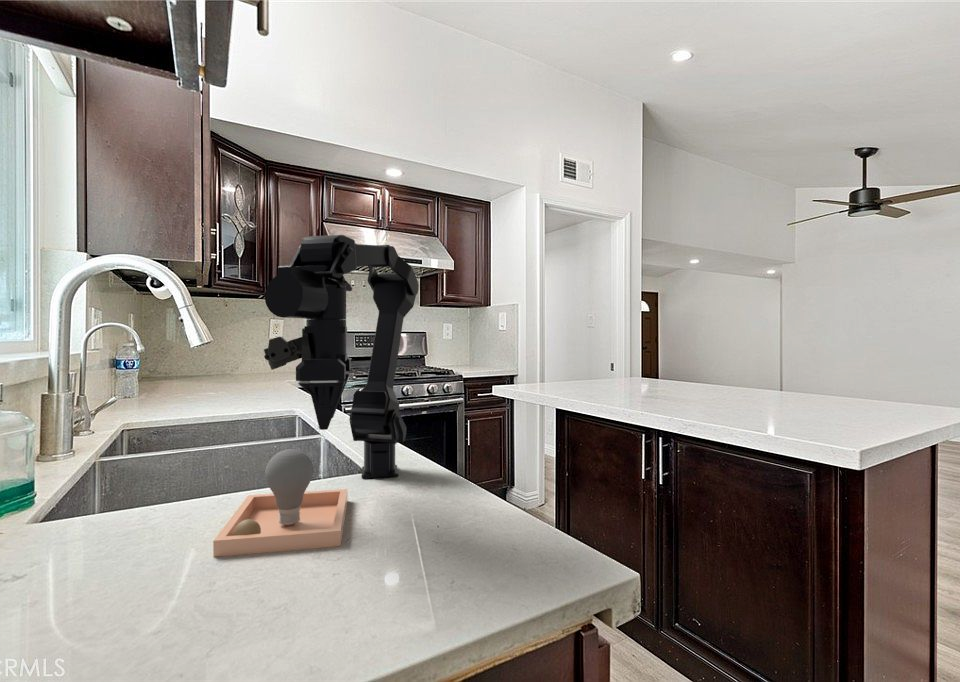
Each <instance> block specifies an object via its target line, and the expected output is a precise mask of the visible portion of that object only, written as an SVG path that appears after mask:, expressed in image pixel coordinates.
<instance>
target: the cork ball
mask: <svg viewBox="0 0 960 682" xmlns="http://www.w3.org/2000/svg"><path fill="white" fill-rule="evenodd" d="M260 533H261V528H260V525H259V524H258V522H256V521H255V520H252V519H247V520H243V521H241V522H240V523H239V524H238V525H237V526H236V527H235V529H234V533H233V536H238V535H251V534H260Z"/></svg>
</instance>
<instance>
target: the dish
mask: <svg viewBox="0 0 960 682" xmlns="http://www.w3.org/2000/svg"><path fill="white" fill-rule="evenodd" d="M348 492H349V491H348V489H347V488H342V489H329V490H328V489H325V490H312V491H311V490H310V491H307V490H306V491H305V492H304V494H303V501H302V503H301V505H300V511H299V512H300V514H299V515H300V521H298V522H297V523H295V524H293V525H290V526H286V525H283V524H280V523H279V516H280V515H279V507H278V506H277V504H276V498H275V496H274V494H273V493H265V494H262V493H261V494H248V495H247V496H246V498H245V499H244V500H243V501H242V503H241V504H240V505H239V506H238V508H237V509H236V510H235V511H234V513H233V515H232V516H231V517H230V518H229V520H228V521H227V523H225V525H224V527H222V528H221V530H220V531H219V533H218V534H217V536H216V537H215V538H214V539H213V542H212V543H213V549H212V551H213V556H212V557H213V558H216V557H227V556H228V557H229V556H236V555H237V556H238V555H252V554H262V553H263V554H264V553H274V552H275V553H276V552H284V551H287V552H288V551H298V550H309V549H319V548H320V549H321V548H332V547H333V548H334V547H341V546H342V545H341V544H342V540H343V532H344V527H345V519H346V514H347V508H348V507H347V506H348V500H349V499H348V494H349V493H348ZM247 519H252V520H255V521H256V522H258V524H259V525H260V528H261V533H260V534H251V535H238V536H233V533H234V529H235V527H236V526H237V525H238V524H239V523H240V522H241V521H243V520H247Z"/></svg>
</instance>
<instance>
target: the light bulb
mask: <svg viewBox="0 0 960 682" xmlns="http://www.w3.org/2000/svg"><path fill="white" fill-rule="evenodd" d="M312 462H313V461H312V460H311V458H310V457H309V456H308V455H307V454H306V453H305V452H304V451H302V450H299V449H294V448H287V449H284V450H281V451H278V452H276V454H274V455H273V456H272V457H271V459H270V460H269V461H268V462H267V464H266V467H265V472H264V478H265V482H266V484H267V486H268V487H269V489H270V491H271V492H272V494H274V496H275V498H276V504H277V506H278V507H279V515H280V516H279V523H280V524H283V525H286V526H290V525H293V524H295V523H297V522H298V521H300V515H299V514H300V512H299V511H300V505H301V503H302V501H303V494H304V492H306V491H307V488H308V487H309V485H310V483H311V481H312V479H313V475H314V465H313V463H312Z"/></svg>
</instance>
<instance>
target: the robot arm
mask: <svg viewBox="0 0 960 682" xmlns="http://www.w3.org/2000/svg"><path fill="white" fill-rule="evenodd" d="M358 267H367V268H368V270H369V271H368V277H367V283H368V285H369V286H370V288H371V290H372V300H373V302H374V304H375V306H376V308H377V310H378V316H377V321H376V327H375V328H376V329H375V335H374V339H373V344H372V345H373V347H372V351H371V358H370V363H369V370H368V374H367V380H366V381H367V382H366V384H365V385H364V387H363V388H362V389H361V390H358V389H357V390H356V391H355V392H354V394H353V397H352V406H351V408H350V412H349V424H350V430H351V431H350V432H351V435H352V441H353V442H363V466H361V479H371V478H387V477H388V478H389V477H398V476H399V469H398V465H397V464H396V444H399V443H403V442H405V440H406V435H407V426H406V423H405V422H404V419H403V417H402V415H401V413H400V402H399V400H398V397H397V395H396V392H395V391H394V384H395V377H396V371H397V370H396V369H397V364H398V363H397V362H398V357H399V350H400V344H401V337H402V332H403V331H402V330H403V323H404V318H405V317H406V316H407V314H408V313H409V312H410V311H411V310H412V309H413V307H414V306H415V302H416V296H417V295H418V293H419V282H418V278H417V276H416V274H415V271H414V269H413V267H412V265H410V264H409V263H408V262H407V261H406V260H404V259H403V258H402V257H401V256H399V254H398V251H397V250H396V247H395V246H393V245H390V244H380V245H379V244H377V245H375V244H362V243H361V244H360V243H359V244H358V243H356V241H355V240H354V238H351V237H348V236H346V235H344V234H332V235H331V234H330V235H312V236H311V235H310V236H304V237H303V238H301V243H300V245H299V246H298V248H297V250H296V252H295V254H294V255H293V257H292V260H291V262H290V263H289V265H279V266H278V267H277V269H278V270H277V274H278V275H276V276H275V277H273V278H272V279H271V280H270V281H269V283H268V285H267V287H266V290H265V291H264V302H265V305H266V307H267V309H268V310H269V312H270V313H272V315H274V316H276V317H278V318H285V319H286V318H287V319H306V320H305V322H306V325H305V326H304V327H303V328H301V336H300V337H297V338H294V339H290V340H287V339H285V338H284V337H283V336H277V337H274V338H271V339H269V340H268V346H267V348H264V349H263V353H264V359H265V360H266V361H267V362H268V365H269V367H270V369H271V371H272V370H275V369H278V368H281V367H284V366H286V365H287V364H288V363H291V362H294V361H297V360H299V359H301V362H299V363H298V364H297V365H296V366H295V382H298V383H297V384H298V385H299V387H302V388H303V389H304V390H305V391H306V392H307V393H309V394H310V397H311V400H312V404H313V409H314V412H315V416H316V420H317V424H318V428H319V430H321V431H324V430H325V431H326V430H328V428H329V427H330V424H331V421H332V419H333V418H334V416H335V413H336V411H337V408H338V406H339V402H340V400H341V398H342V395H343V394H344V393H343V392H344V390H345V386H346V384H347V382H348V379H349V377H350V375H351V374H350V371H351V368H352V367H351V361H352V359H351V358H350V357H349V356H348V352H347V334H348V327H347V292H352V291H353V287H352V285H351V283H349V282H348V281H347V279H345V276H344V275H346V274H350V273H352V272H355V271H356V270H357V268H358ZM376 268H389V269H390V270H391V271H392V272H380V273H379V274H378V271H377V270H376Z"/></svg>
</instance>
